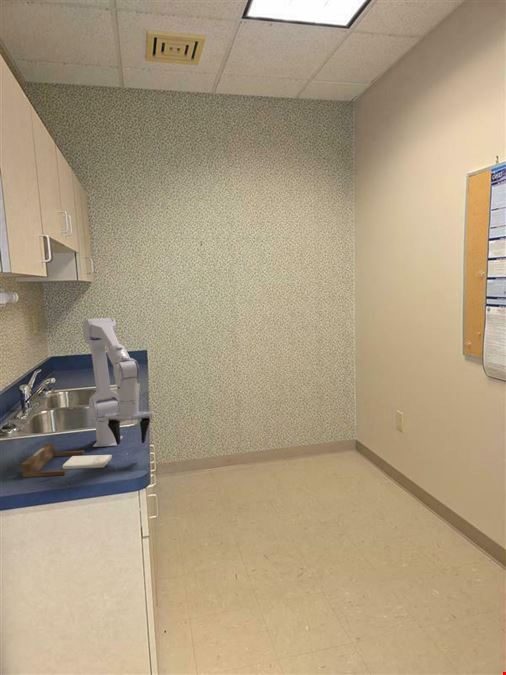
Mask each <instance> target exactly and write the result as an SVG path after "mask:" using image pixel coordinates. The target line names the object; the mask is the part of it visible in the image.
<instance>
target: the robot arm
mask: <svg viewBox="0 0 506 675" xmlns="http://www.w3.org/2000/svg"><path fill="white" fill-rule="evenodd" d="M82 332H83V333H82V334H83V340H84V343H85V344H87V345H89V347H90V351H91V359H92V368H93V374H94V383H95V389H96V391H95V392H94V393H93V394H92V395H91V396H90V397H89V400H88V411H89V416H90V418H91V419H92V420H94V421H95V433H96V434H95V435H96V442H95V443H94V444H93V446H92V447H93V448H100V447H116V446H118V445H120V444H121V440H122V439H123V435H121V430H120V429H121V426H120V424H121V421H135V420H136V421H137V420H140V421H139V425H140V432H141V444H145V443H146V436H147V431H148V429H149V428H148V427H149V425H150V423H151V420H153V419H154V417H155V415H154V411H139V394H138V393H139V392H138V381H137V379H138V378H139V377H140V366H139V363H138V361H137V360H136V359H134V358H131V357H130V355H129V353H128V351H127V349H126V347H125V346H124V345H123V344H120V343H119V341H118V338H117V335H116V333H117V322H116V320H115V318H114V317H105V318H104V317H101V318H85V319H84V321H83V324H82ZM106 348H107V349H108V350H106ZM106 351H107V352H106ZM108 360H110V362H111V365H112V367H113V376H114V380H115V385H116V386H117V392H116V391H114V390H112V389H111V381H110V372H109V366H108Z"/></svg>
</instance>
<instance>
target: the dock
mask: <svg viewBox="0 0 506 675" xmlns="http://www.w3.org/2000/svg"><path fill="white" fill-rule="evenodd" d="M55 448H56V447H55V443H51V442H50V443H46V444H44V445H43V446H42V447H41V448H39V449H38V450H37V451H35V452H34V453H33V454H32V455H31V456H29V457H28V458H27V459H26V460H24V461H23V462H22V463H21V470H22V473H21V474H22V477H23V478H28V477H29V478H32V477H47V476H49V477H51V476H65V475H66V474H67V469H59V470H58V469H57V470H55V469H54V470H43V471H41V469H42V468H43V467H44V466H45V465H46V464H47V463H48V462H49V461H50V460H52V459H53V458H54V457H63V456H64V457H65V456H66V457H67V456H68V457H69V456H85V450H69V451H67V450H65V451H56V449H55Z"/></svg>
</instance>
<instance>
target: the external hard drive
mask: <svg viewBox="0 0 506 675" xmlns="http://www.w3.org/2000/svg"><path fill="white" fill-rule="evenodd" d="M112 457H113V455H112V454H97V455H96V454H95V455H93V454H92V455H71V457H70V458H69V459H67V461H66V462H64V464H63V465H62V468H61V469H62V470H74V469H76V470H77V469H79V470H80V469H96V468H97V469H99V468H100V469H101V468H105V466H107V464H108V463H109V461H111V459H112Z"/></svg>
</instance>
